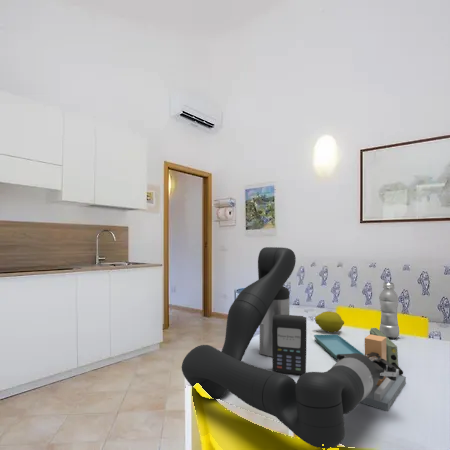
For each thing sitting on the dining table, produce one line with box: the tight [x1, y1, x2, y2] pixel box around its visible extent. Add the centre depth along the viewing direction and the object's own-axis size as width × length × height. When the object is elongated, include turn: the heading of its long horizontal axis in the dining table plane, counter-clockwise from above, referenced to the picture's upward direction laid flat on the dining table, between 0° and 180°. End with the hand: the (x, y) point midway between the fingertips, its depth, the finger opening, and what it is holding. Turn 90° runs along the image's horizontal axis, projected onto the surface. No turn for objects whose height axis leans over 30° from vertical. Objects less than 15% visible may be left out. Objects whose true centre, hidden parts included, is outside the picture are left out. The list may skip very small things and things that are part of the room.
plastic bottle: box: [378, 282, 400, 339], centre depth 124 cm, size 6×7×20 cm
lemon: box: [314, 310, 345, 333], centre depth 130 cm, size 11×8×8 cm
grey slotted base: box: [359, 369, 407, 412], centre depth 80 cm, size 18×10×3 cm, turn 141°
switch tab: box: [364, 333, 386, 386], centre depth 81 cm, size 5×4×10 cm
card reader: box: [271, 314, 308, 376], centre depth 90 cm, size 9×4×15 cm, turn 75°
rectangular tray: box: [313, 334, 365, 361], centre depth 106 cm, size 26×9×2 cm, turn 3°
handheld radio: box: [369, 327, 404, 376], centre depth 100 cm, size 7×3×25 cm
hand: (375, 357), depth 79 cm, fingers closed
